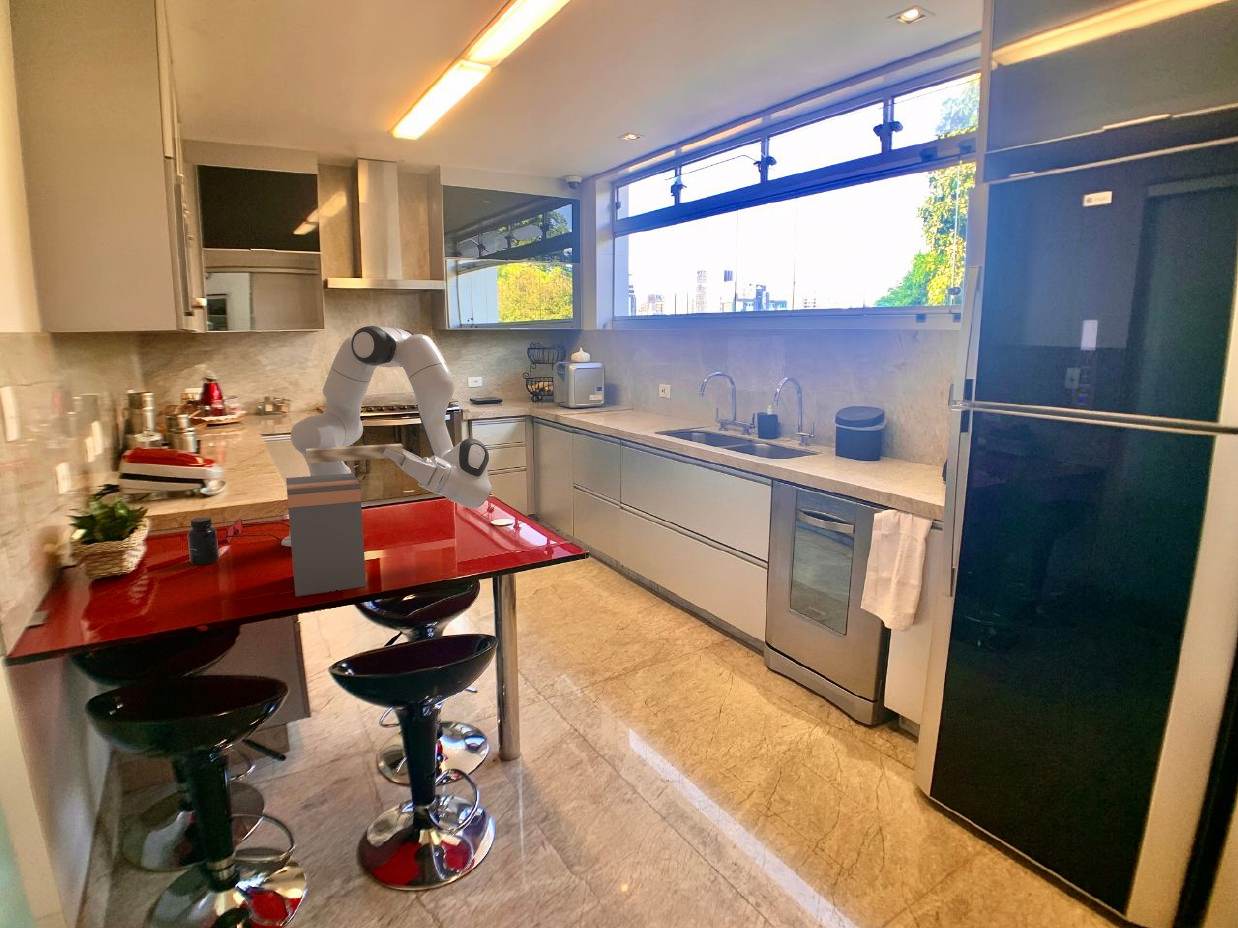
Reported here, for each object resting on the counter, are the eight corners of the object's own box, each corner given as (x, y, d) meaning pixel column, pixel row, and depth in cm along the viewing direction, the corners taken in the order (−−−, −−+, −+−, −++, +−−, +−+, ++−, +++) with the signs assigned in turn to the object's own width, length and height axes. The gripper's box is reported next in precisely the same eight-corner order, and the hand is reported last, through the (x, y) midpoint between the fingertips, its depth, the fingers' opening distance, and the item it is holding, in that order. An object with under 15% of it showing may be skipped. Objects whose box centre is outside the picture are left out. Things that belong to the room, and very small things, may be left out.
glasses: (239, 532, 215) (238, 516, 214) (295, 529, 218) (294, 514, 218) (223, 545, 202) (222, 529, 201) (283, 542, 205) (282, 526, 204)
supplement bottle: (186, 566, 182) (181, 523, 180) (195, 558, 188) (190, 516, 186) (215, 564, 184) (210, 521, 182) (222, 556, 190) (218, 515, 188)
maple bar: (401, 455, 172) (400, 443, 172) (403, 457, 170) (402, 445, 169) (306, 461, 163) (305, 448, 162) (307, 463, 160) (306, 450, 159)
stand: (359, 567, 183) (353, 472, 178) (366, 586, 169) (360, 484, 164) (293, 575, 176) (285, 477, 171) (295, 596, 162) (286, 490, 157)
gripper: (429, 455, 184) (382, 432, 178) (446, 469, 166) (394, 444, 160) (418, 476, 184) (370, 454, 177) (434, 492, 166) (381, 468, 159)
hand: (382, 449), depth 168 cm, fingers closed on maple bar, 3 cm apart
